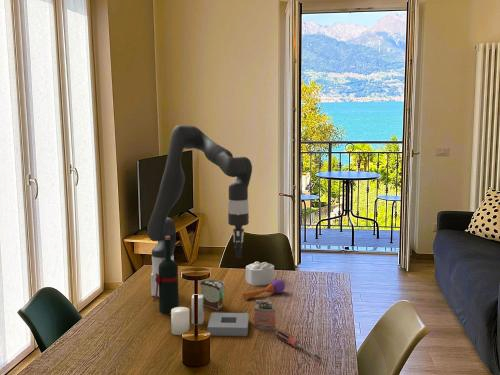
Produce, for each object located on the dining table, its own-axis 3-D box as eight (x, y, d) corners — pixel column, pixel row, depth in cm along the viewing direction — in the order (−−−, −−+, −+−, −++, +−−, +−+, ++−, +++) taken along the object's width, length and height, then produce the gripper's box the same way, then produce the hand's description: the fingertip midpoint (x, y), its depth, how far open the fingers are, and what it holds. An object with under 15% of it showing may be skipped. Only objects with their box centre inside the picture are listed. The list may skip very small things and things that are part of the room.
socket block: (207, 335, 188) (207, 327, 188) (211, 320, 202) (211, 312, 202) (247, 335, 188) (247, 327, 188) (248, 320, 202) (248, 313, 201)
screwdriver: (325, 362, 168) (325, 353, 168) (317, 365, 167) (317, 355, 166) (280, 335, 189) (280, 327, 189) (273, 336, 188) (273, 328, 187)
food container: (231, 307, 216) (231, 283, 215) (220, 311, 212) (220, 286, 210) (211, 300, 225) (210, 276, 223) (200, 303, 220) (199, 280, 219)
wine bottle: (150, 309, 213) (148, 235, 209) (174, 305, 218) (173, 233, 214) (157, 316, 206) (155, 240, 202) (181, 311, 211) (180, 237, 207)
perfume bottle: (276, 327, 196) (276, 300, 195) (273, 330, 193) (274, 303, 191) (255, 324, 199) (255, 298, 197) (252, 327, 195) (252, 301, 194)
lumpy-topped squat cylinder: (243, 280, 252) (243, 262, 251) (268, 276, 258) (268, 259, 257) (253, 286, 243) (253, 267, 242) (278, 282, 248) (278, 264, 247)
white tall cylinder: (191, 324, 199) (191, 298, 197) (193, 320, 203) (192, 294, 201) (202, 324, 198) (202, 298, 197) (203, 320, 202) (203, 294, 201)
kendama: (240, 288, 228) (278, 277, 238) (242, 302, 228) (280, 290, 238) (247, 290, 222) (286, 278, 233) (249, 304, 223) (288, 292, 233)
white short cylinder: (170, 334, 189) (169, 313, 188) (173, 327, 195) (172, 306, 194) (188, 335, 188) (187, 313, 187) (190, 328, 195) (190, 307, 194)
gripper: (229, 208, 204) (229, 250, 206) (227, 215, 189) (227, 259, 192) (248, 208, 204) (249, 250, 206) (248, 215, 189) (248, 259, 191)
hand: (238, 254), depth 199 cm, fingers open, 8 cm apart
